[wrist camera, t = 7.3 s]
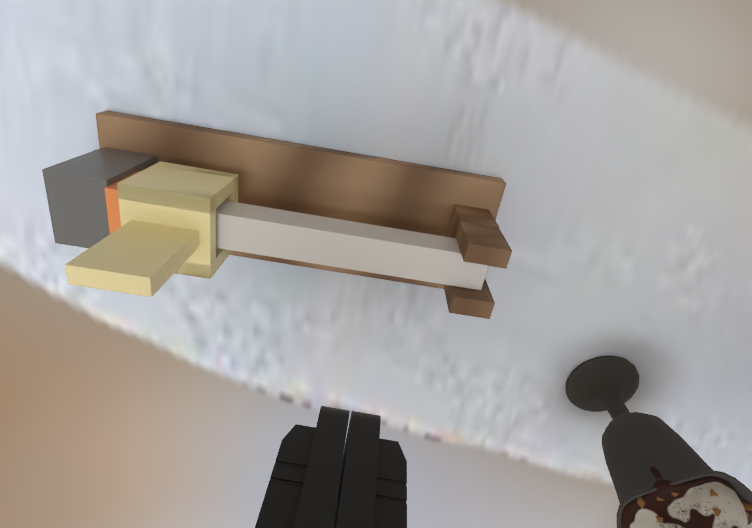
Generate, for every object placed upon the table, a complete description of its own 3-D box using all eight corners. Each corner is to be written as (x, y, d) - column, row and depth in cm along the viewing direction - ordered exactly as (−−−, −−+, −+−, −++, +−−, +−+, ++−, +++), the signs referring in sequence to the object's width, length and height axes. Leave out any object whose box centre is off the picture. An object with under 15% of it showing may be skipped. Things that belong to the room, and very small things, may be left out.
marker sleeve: (238, 174, 23) (161, 239, 15) (237, 244, 25) (167, 334, 17) (160, 161, 23) (42, 220, 15) (164, 232, 24) (61, 318, 17)
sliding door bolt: (479, 209, 25) (499, 246, 20) (463, 266, 26) (478, 311, 22) (105, 146, 24) (39, 170, 19) (112, 209, 26) (52, 244, 21)
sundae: (634, 329, 29) (839, 573, 16) (662, 397, 32) (861, 658, 18) (538, 368, 31) (651, 618, 17) (572, 430, 33) (693, 691, 20)
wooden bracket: (502, 178, 25) (534, 218, 19) (470, 285, 28) (490, 347, 22) (106, 110, 24) (17, 131, 18) (119, 229, 27) (46, 278, 21)
